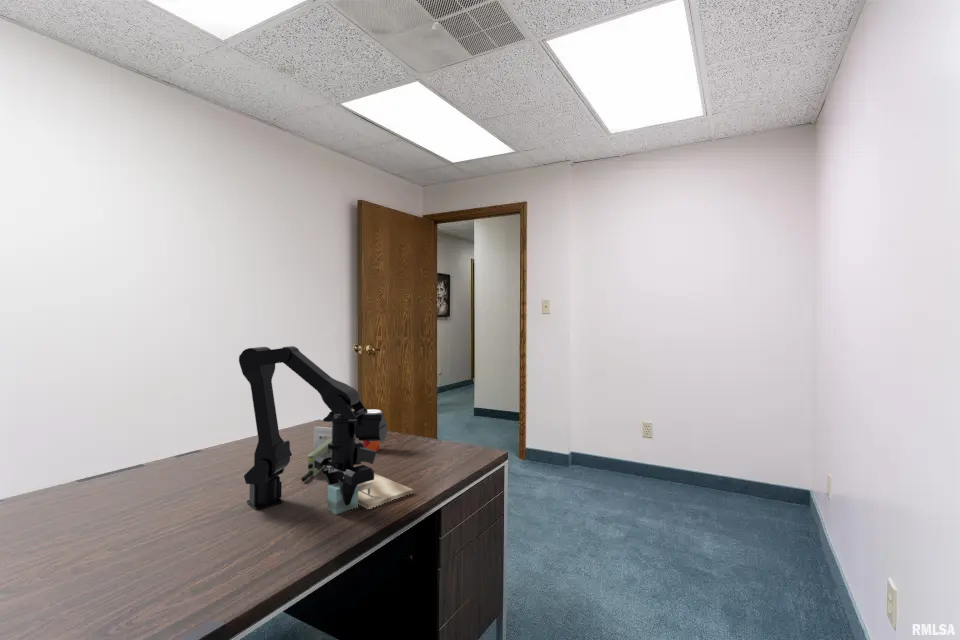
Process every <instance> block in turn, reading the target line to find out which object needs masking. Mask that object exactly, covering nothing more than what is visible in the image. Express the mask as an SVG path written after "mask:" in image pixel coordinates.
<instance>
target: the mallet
mask: <svg viewBox="0 0 960 640" xmlns="http://www.w3.org/2000/svg"><path fill="white" fill-rule="evenodd" d="M370 488H372V482H371V481H367V482H364V483H361V484H357V486H356V488H355V491H354V494H353V497H352V500H351V502H350V504H349V505H347V506H346V505H345V503H344V500H343V497H342V493H341V490H340V486H339V483H335V484H331V485H328V488H327V509H326V510H327V511H329V512H330V511H331V512H330V513H332V514H334V515H335V514H337V515H339V513H340V514H342V512H343V513H345V511H346V512H348V511H347V510H349V511H351V510H350V509H352V510H354V509H353V508H355V509H357V508H359V505H358V492H359V491H362V490H366V489H368V494H370ZM356 507H357V508H356Z"/></svg>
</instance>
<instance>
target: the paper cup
mask: <svg viewBox="0 0 960 640" xmlns="http://www.w3.org/2000/svg"><path fill="white" fill-rule="evenodd" d="M367 411H368V413H383V412H382V410H380V409H367ZM362 443H363V445H364V448H368V449H371V450H374V451H377V452H378V450H379V451H380V446H381V445H380V444H381V442H380V441H362Z"/></svg>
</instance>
